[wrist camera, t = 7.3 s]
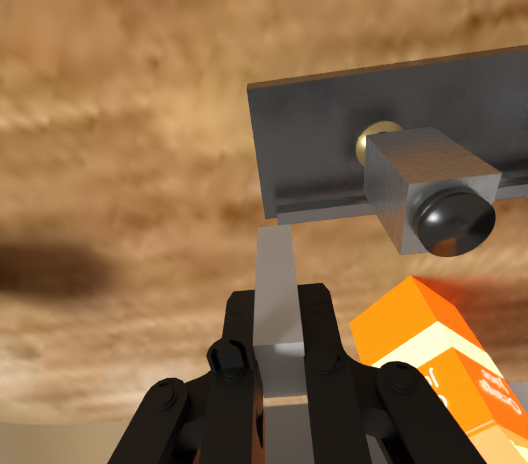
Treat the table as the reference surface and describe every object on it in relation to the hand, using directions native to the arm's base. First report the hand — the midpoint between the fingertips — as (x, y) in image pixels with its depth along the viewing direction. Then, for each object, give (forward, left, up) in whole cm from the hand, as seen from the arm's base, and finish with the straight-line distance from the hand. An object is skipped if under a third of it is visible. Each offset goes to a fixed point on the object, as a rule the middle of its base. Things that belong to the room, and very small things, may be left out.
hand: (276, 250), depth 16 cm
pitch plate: (-10, -9, -13) cm, 18 cm away
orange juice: (-23, +7, -13) cm, 27 cm away
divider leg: (-6, -6, -10) cm, 13 cm away
